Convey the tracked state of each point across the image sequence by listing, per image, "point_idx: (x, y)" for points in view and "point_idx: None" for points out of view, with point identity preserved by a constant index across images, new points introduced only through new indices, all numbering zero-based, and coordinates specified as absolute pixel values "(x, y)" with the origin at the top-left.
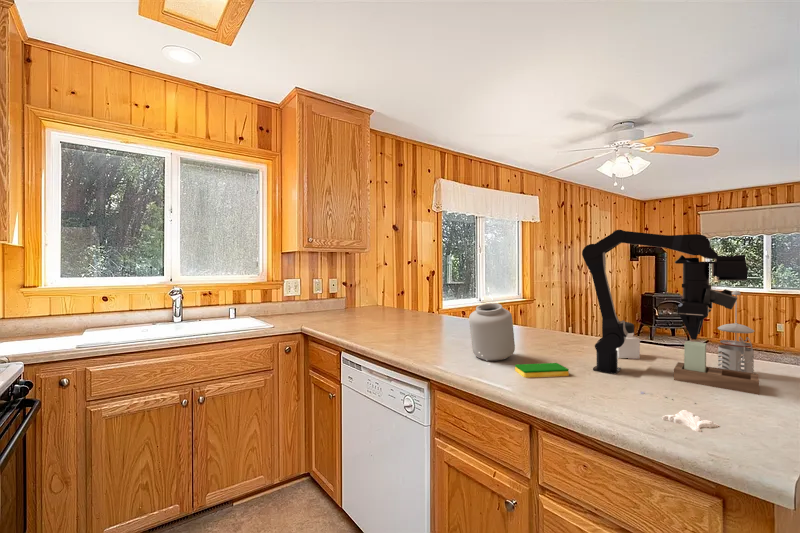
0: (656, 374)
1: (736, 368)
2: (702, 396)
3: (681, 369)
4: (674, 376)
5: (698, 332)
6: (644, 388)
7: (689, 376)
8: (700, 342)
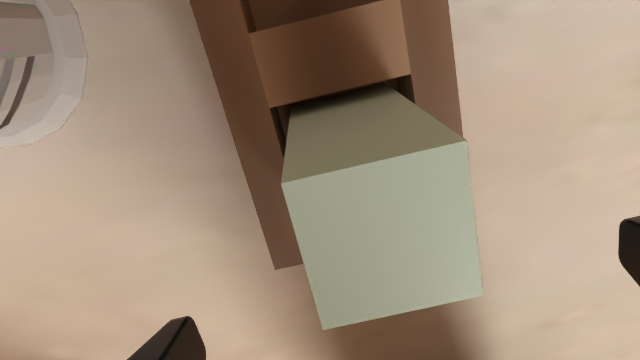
0: None
1: (4, 13)
2: (571, 30)
3: None
4: None
5: (190, 337)
6: None
7: None
8: (294, 229)
